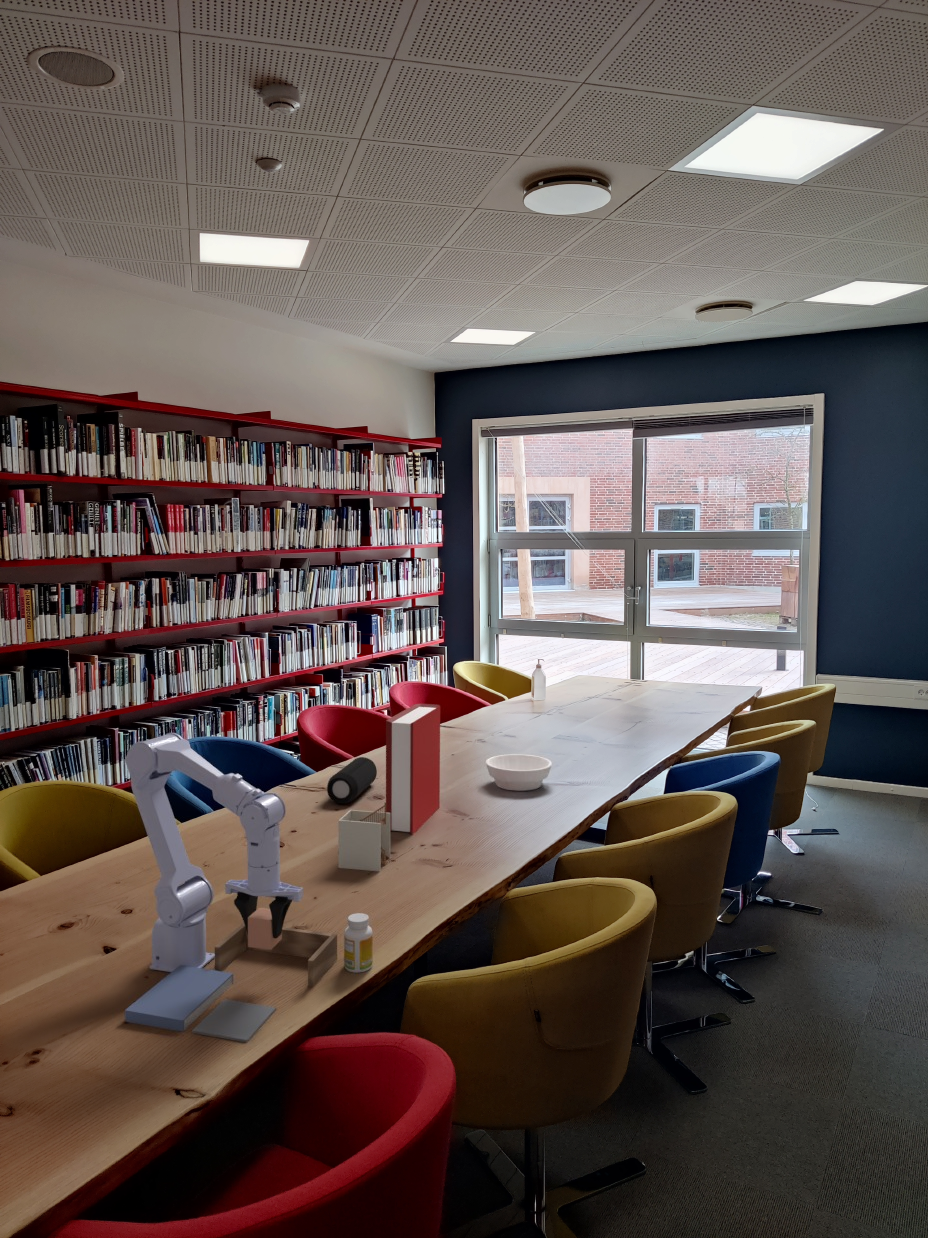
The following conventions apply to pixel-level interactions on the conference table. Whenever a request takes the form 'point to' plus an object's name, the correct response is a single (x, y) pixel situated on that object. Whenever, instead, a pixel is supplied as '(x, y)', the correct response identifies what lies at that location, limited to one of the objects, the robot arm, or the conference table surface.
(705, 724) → the conference table surface
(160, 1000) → the navy book
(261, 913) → the terracotta block
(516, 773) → the bowl
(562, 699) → the conference table surface
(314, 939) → the walnut u-shaped open frame
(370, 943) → the supplement bottle
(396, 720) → the book
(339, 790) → the portable speaker
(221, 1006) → the felt mat
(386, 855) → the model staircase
